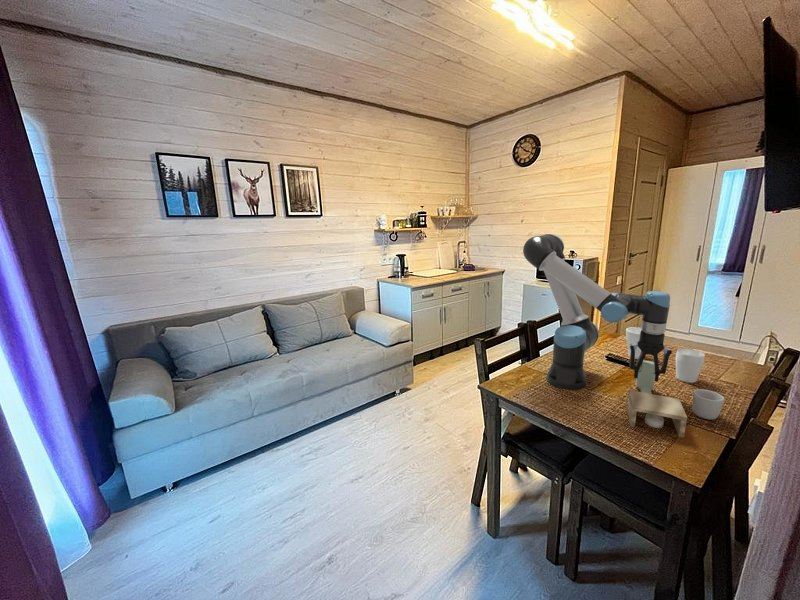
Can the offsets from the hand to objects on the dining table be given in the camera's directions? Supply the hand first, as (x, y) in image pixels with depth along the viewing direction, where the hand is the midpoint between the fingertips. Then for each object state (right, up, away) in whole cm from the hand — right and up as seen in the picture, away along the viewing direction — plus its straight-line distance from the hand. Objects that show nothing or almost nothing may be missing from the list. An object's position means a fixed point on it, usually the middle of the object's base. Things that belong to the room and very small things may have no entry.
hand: (644, 386), depth 135 cm
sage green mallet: (-4, -3, -7) cm, 9 cm away
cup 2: (+22, +1, +6) cm, 23 cm away
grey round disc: (-12, -7, -21) cm, 26 cm away
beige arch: (-12, -7, -20) cm, 25 cm away
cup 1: (+17, +7, +29) cm, 35 cm away
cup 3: (+8, -5, -17) cm, 20 cm away
